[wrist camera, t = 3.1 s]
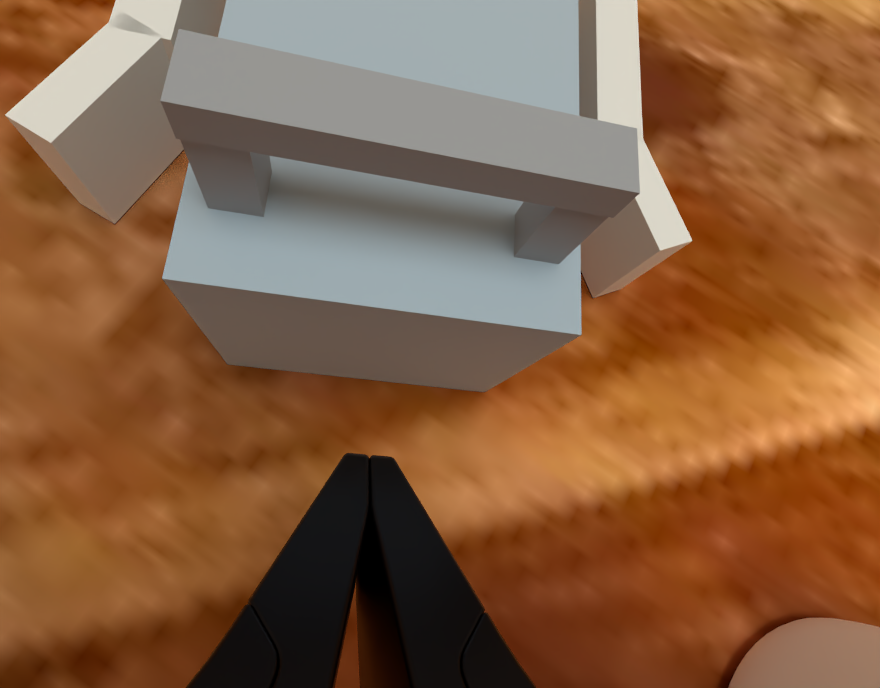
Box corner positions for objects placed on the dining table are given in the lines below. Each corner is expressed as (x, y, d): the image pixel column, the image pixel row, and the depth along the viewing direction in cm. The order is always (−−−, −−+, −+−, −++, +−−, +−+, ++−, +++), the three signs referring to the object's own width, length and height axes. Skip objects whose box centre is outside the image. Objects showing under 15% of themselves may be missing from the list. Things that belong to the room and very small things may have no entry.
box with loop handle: (482, 393, 17) (673, 280, 8) (228, 365, 16) (92, 186, 6) (498, 32, 22) (636, -322, 12) (298, -16, 20) (277, -463, 11)
